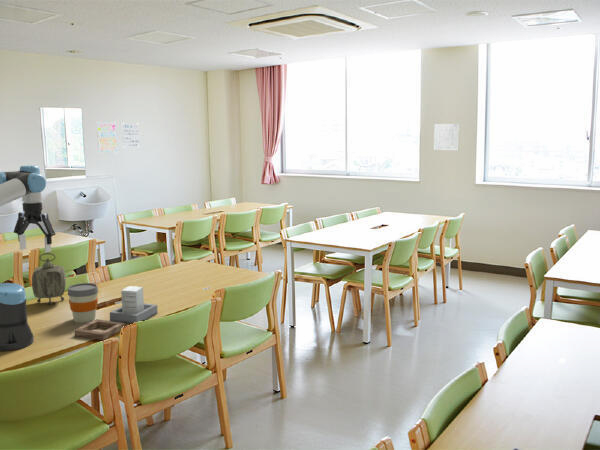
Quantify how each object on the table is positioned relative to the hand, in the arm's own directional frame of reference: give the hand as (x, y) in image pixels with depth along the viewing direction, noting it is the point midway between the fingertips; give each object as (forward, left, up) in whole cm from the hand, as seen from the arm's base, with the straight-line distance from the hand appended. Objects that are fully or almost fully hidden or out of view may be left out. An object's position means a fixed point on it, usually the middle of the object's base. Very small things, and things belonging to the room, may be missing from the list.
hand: (35, 250), depth 234 cm
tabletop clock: (+21, +14, -32) cm, 41 cm away
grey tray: (+18, -36, -32) cm, 51 cm away
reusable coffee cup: (+8, -17, -32) cm, 37 cm away
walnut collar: (-3, -34, -32) cm, 47 cm away
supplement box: (+18, -36, -31) cm, 51 cm away
